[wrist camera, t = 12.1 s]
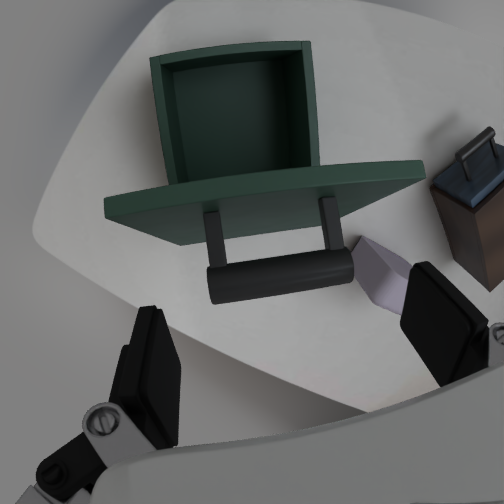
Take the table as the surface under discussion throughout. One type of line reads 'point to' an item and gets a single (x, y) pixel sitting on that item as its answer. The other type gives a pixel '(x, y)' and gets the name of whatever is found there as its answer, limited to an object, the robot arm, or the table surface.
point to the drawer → (474, 170)
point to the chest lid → (265, 220)
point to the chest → (236, 109)
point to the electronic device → (381, 274)
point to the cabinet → (475, 234)
